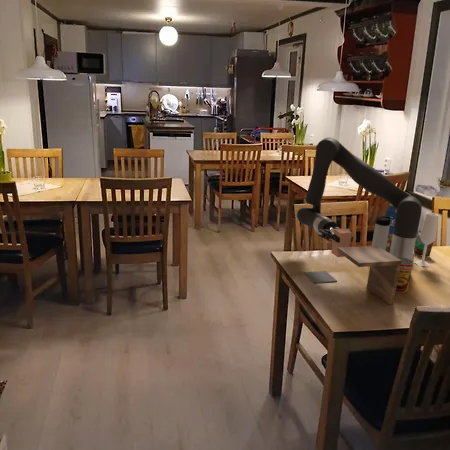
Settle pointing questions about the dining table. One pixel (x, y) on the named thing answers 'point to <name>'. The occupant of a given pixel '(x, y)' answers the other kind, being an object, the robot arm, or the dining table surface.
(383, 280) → the shelf nook
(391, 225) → the blue food package
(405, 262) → the canned food
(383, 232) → the travel mug
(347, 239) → the terracotta block
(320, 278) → the slate mat
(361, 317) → the dining table surface
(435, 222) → the champagne flute
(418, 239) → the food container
